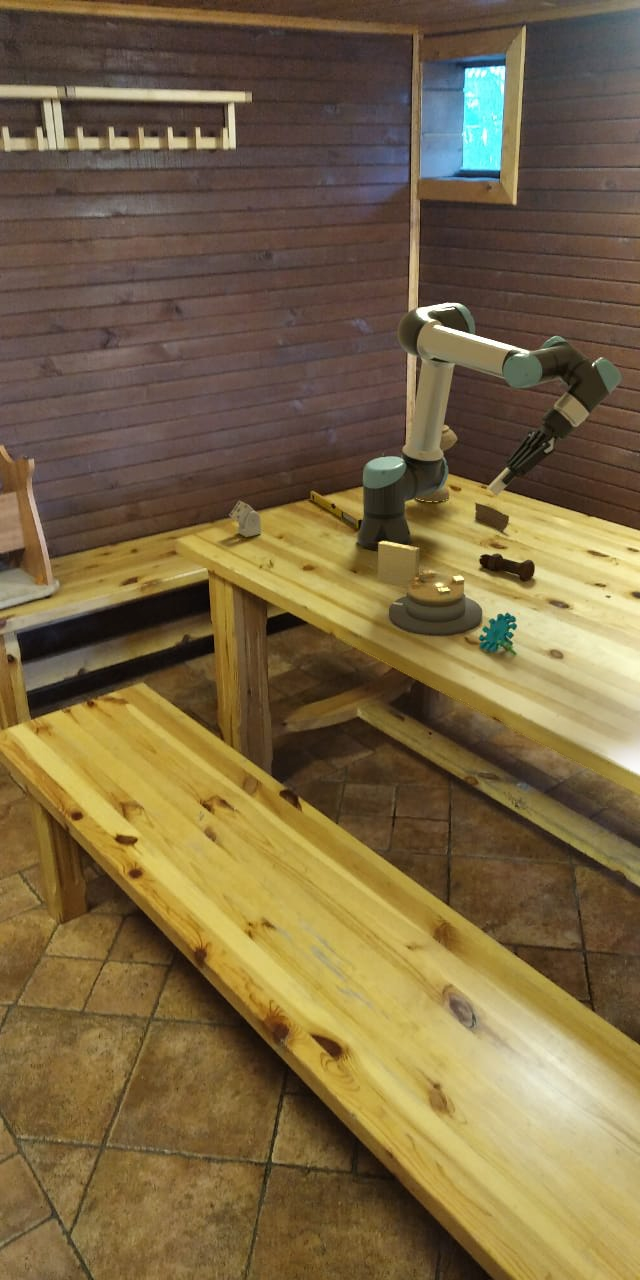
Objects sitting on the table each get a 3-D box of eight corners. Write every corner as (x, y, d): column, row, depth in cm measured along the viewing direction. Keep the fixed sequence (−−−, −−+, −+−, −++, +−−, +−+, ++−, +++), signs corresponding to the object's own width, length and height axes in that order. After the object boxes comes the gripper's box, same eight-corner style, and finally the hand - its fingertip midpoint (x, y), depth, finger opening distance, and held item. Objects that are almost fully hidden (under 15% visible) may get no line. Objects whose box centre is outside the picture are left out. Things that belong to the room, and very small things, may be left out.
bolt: (483, 571, 262) (530, 584, 252) (473, 567, 258) (520, 580, 248) (490, 551, 262) (537, 562, 252) (480, 546, 258) (528, 558, 248)
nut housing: (370, 613, 235) (370, 594, 233) (438, 590, 246) (438, 571, 244) (431, 644, 219) (432, 624, 217) (501, 618, 230) (502, 599, 228)
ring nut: (472, 591, 232) (474, 548, 227) (448, 610, 222) (449, 566, 218) (393, 574, 243) (393, 533, 238) (366, 592, 233) (366, 550, 228)
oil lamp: (400, 494, 319) (401, 369, 301) (440, 487, 324) (443, 364, 307) (422, 507, 306) (425, 377, 289) (464, 500, 311) (469, 372, 294)
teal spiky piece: (472, 632, 220) (505, 603, 217) (488, 646, 223) (522, 617, 220) (484, 659, 211) (520, 630, 208) (501, 674, 214) (537, 644, 211)
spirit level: (310, 499, 317) (309, 490, 316) (313, 499, 318) (313, 490, 316) (358, 529, 290) (358, 520, 289) (362, 529, 290) (362, 519, 289)
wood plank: (471, 518, 296) (472, 502, 293) (477, 517, 296) (477, 501, 294) (503, 533, 283) (504, 516, 281) (508, 532, 284) (509, 515, 282)
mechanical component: (262, 534, 288) (260, 501, 283) (239, 540, 284) (236, 507, 280) (252, 529, 292) (250, 497, 287) (230, 535, 288) (227, 502, 284)
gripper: (585, 434, 224) (511, 510, 229) (563, 421, 236) (493, 493, 241) (565, 413, 221) (490, 489, 226) (543, 400, 233) (473, 474, 238)
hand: (492, 491), depth 234 cm, fingers closed
